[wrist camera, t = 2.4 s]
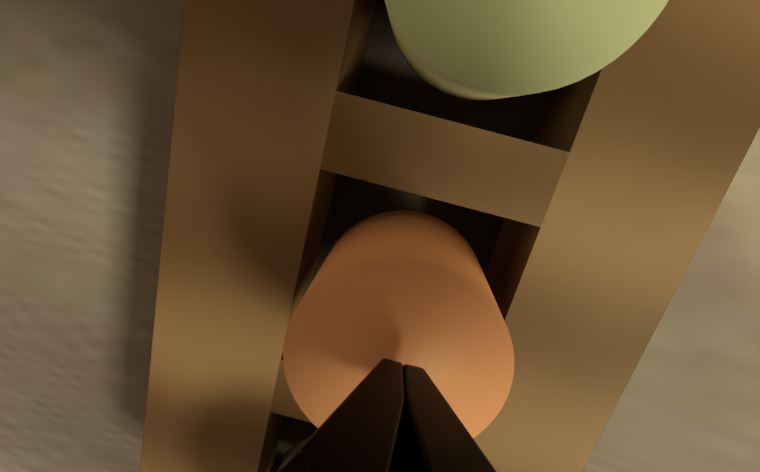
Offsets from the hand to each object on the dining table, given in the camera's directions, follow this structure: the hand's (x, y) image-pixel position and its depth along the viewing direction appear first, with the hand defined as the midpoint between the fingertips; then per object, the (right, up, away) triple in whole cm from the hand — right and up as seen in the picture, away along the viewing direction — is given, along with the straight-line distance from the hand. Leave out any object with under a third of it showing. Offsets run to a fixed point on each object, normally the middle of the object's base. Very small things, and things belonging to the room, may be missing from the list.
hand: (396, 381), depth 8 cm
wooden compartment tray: (+1, +2, +7) cm, 7 cm away
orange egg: (0, +1, +4) cm, 4 cm away
